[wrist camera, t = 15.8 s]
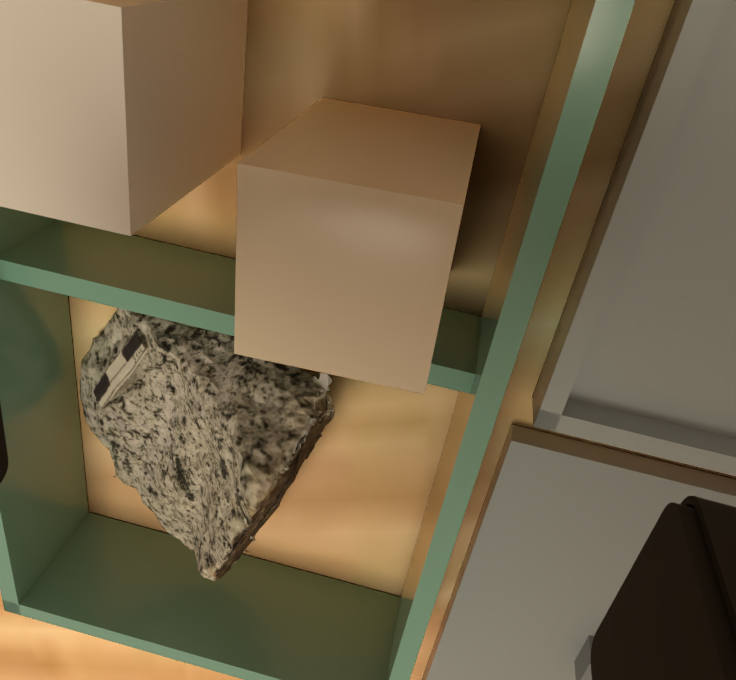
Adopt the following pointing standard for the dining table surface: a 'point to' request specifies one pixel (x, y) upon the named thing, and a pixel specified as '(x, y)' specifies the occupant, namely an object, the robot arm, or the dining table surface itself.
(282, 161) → the tan block
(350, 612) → the green open box
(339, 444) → the dining table surface
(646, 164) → the slate tray
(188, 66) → the pale block
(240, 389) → the rock sample
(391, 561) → the dining table surface
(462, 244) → the dining table surface
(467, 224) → the dining table surface
